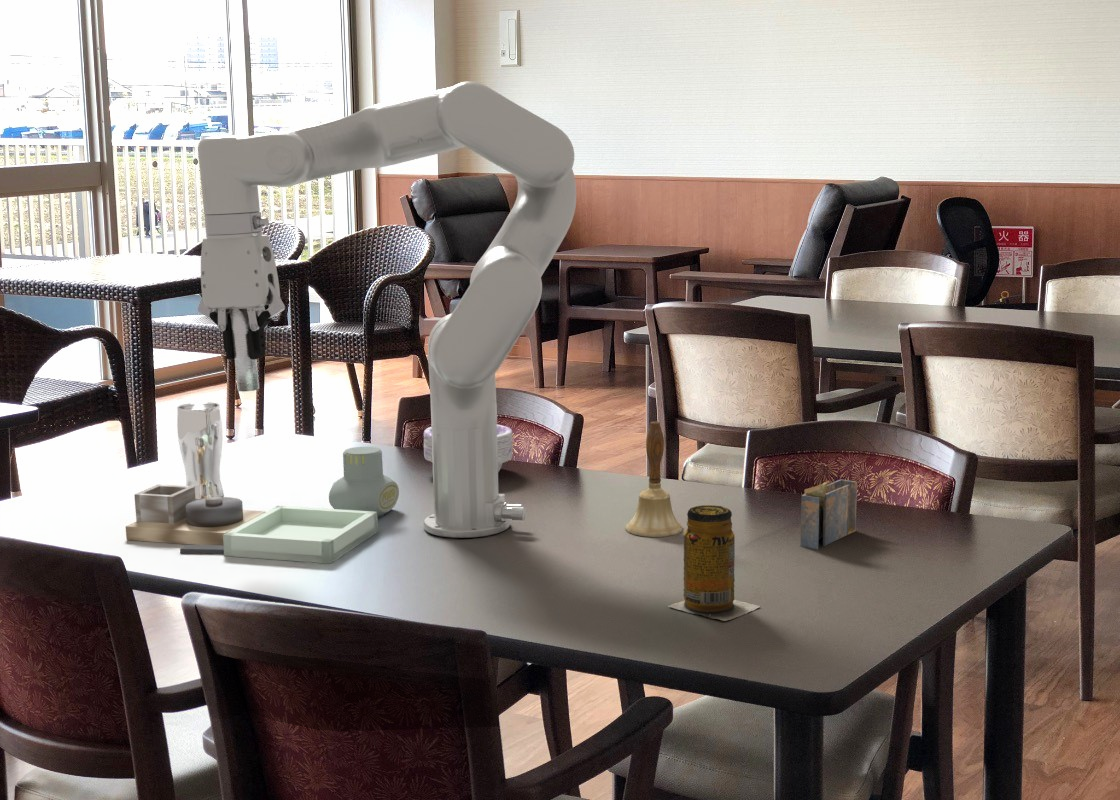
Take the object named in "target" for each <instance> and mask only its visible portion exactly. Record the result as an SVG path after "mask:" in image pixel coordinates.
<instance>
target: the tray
mask: <svg viewBox="0 0 1120 800" xmlns="http://www.w3.org/2000/svg"><path fill="white" fill-rule="evenodd" d="M378 524H379V523H378V517H377V512H374V511H358V510H341V509H334V508H322V507H321V508H320V507H309V506H307V507H306V506H305V507H304V506H289V505H288V506H287V505H276V506H275V507H272V508H271V509H268V510H267V511H266V512H265V513H263V514H261V515H259V516H257V517H255V518H253V519H252V520H250V521H248V522H246V523H244V524H242V525H240V526H239V527H237V528H235V529H233V530H231V531H229V532H227V533H225V534H224V535H223V544H224V554H223V556H224V557H235V558H250V559H263V560H278V561H287V562H288V561H292V562H303V563H304V562H306V563H318V564H319V563H320V564H332V563H333V562H335V561H337V560H338V559H340V558H341V557H342V556H344V555H345V554H347V553H348V552H350V551H351V550H353V549H354V548H356V547H357V546H359V545H360V544H362V543H363V542H365V541H366V540H367V539H369V538H371V537H372V536H374V535H375V534H377V533H378V531H379V528H378V527H379V526H378Z"/></svg>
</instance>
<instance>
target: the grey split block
mask: <svg viewBox="0 0 1120 800" xmlns="http://www.w3.org/2000/svg"><path fill="white" fill-rule="evenodd" d="M857 492H858V481H855V480H854V481H853V480H847V479H843V478H842V479H838V480H836V481H833V482H830V480H827V481H824V482H823V483H820V484H818V485H815V486H812V487H809V488H805V489H804V494H802V495H801V496H800V498H801V501H800V505H801V506H800V547H801V548H802V547H804V548H809V549H813V550H819V540H820V539H821V538H822V546H827V545H828V544H829V545H830V544H831V543H833V542H835V541H838V540H839V539H842V538H844V537H846V536H849V535H851V534H852V533H854V532H855V533H856V532H857V504H858V503H857V495H858V493H857Z"/></svg>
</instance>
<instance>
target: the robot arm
mask: <svg viewBox="0 0 1120 800" xmlns="http://www.w3.org/2000/svg"><path fill="white" fill-rule="evenodd" d="M464 148H467V149H469V150H470V151H471V152H473V153H475V154H476V155H478V156H480V157H481V158H484V159H485V160H487V161H489V162H491V163H492V164H494V165H496V166H497V167H500V168H501V169H503V170H505V171H507V172H508V173H510V174H512V175H514V177H515V179H516V182H517V195H516V199H515V201H514V204H513V207H512V208H511V210H510V212H509V214H508V215H507V217H506V219H505V220H504V222H503V224H502V226H501V227H500V229H499V230H498V232H497V233H496V235H495V237H494V239H493V240H492V241H491V243H490V244H489V246H488V247H487V249H486V251H485V252H484V253H483V255H482V256H480V259H478V261H477V263H476V264H475V266H474V267H473V269H472V271H471V274H470V278H469V285H468V287H467V289H466V290H465V292H464V293H463V295H462V297H461V299H460V300H459V302H458V304H457V305H456V306H455V308H454V310H453V311H452V313H449V314H446V315H445V316H443V317H441V318H440V319H439V320H438V321H437V322H436V323H435V324H434V325H433V327H432V329H431V331H430V334H429V336H428V342H427V359H428V360H427V364H428V372H429V373H428V377H429V378H428V379H429V395H430V397H429V398H430V416H431V417H430V419H431V426H430V427H431V432H432V462H431V463H432V487H433V513H432V514H430V515H428V516H427V517H426V518H425V519H424V520H423V529H424V530H425V531H426V532H427V533H429V534H431V535H435V536H439V537H443V538H454V539H463V538H464V539H465V538H467V539H468V538H479V537H488V536H493V535H496V534H499V533H502V532H504V531H506V530H508V528H509V527H510V525H511V521H510V520H512V521H525V520H526V517H527V510H526V506H524V507H523V504H519V503H516V504H515V503H513V504H512V503H510V504H509V503H508V502H507V501H506V497H505V495H506V494H505V493H499V472H498V455H497V424H498V412H497V411H498V410H497V409H498V407H497V403H498V402H497V384H496V381H497V380H496V373H497V372H498V370H499V369H500V367H501V366H502V364H503V363H504V361H505V360H506V358H507V357H508V355H509V353H510V352H511V350H512V349H513V348H514V345H515V344H516V343H517V341H518V339H519V338H520V336H521V335H522V333H523V332H524V330H525V329H526V327H527V325H528V324H529V322H530V321H531V319H532V318H533V316H534V314H535V312H536V310H537V308H538V306H539V303H540V301H541V297H542V294H543V293H542V292H543V282H542V276H543V274H544V273H545V271H546V269H547V268H548V266H549V265H550V263H551V261H552V260H553V257H554V256H555V254H556V252H557V251H558V249H559V248H560V246H561V244H562V242H563V241H564V238H565V237H566V235H567V233H568V231H569V229H570V228H571V224H572V223H573V219H574V216H575V212H576V207H577V183H576V179H575V173H574V170H573V167H574V164H575V150H574V149H575V148H574V146H573V143H572V141H571V139H570V138H569V136H568V135H567V134H566V133H565V132H564V131H563V130H562V129H561V128H559V127H558V126H556V125H555V124H552V123H551V122H549V121H547V120H545V118H542V117H541V116H539V115H537V114H536V113H533V112H531V111H530V110H528V109H526V108H524V107H522V106H521V105H519V104H517V103H516V102H514V101H512V100H510V99H509V98H507V97H505V96H504V95H502V94H501V93H499V92H497V91H496V90H495V89H492V88H491V87H489V86H487V85H485V84H483V83H481V82H477V81H462V82H460V83H459V82H458V83H457V84H454V85H453V86H449V87H446V88H440V89H436V90H433V91H431V90H430V91H428V92H424V93H419V94H416V95H410V96H406V97H403V98H397V99H394V100H389V101H385V102H381V103H376V104H373V105H370V106H368V107H364V108H363V109H361V110H359V111H356V112H355V113H352V114H350V115H346V116H344V117H341V118H337V119H334V120H330V121H327V122H322V123H319V124H314V125H310V126H305V127H302V128H297V129H293V130H288V131H286V130H284V131H283V130H279V131H278V130H277V131H272V132H268V133H263V134H257V135H250V136H249V135H248V136H246V135H237V134H236V135H235V134H234V135H233V134H232V135H230V134H229V135H218V136H217V135H216V136H215V135H214V136H208V137H204V138H202V139H201V140H200V141H199V142H198V146H197V155H198V164H199V176H200V177H199V178H200V186H201V195H202V206H203V215H204V216H203V218H204V225H205V226H204V228H205V236H206V237H203V238H202V241H201V242H202V244H201V253H200V286H201V288H200V289H201V295H202V296H201V299H200V301H199V305H198V307H197V311H198V313H200V314H202V315H203V316H205V317H207V318H209V319H211V321H212V322H213V323H214V324H215V325H216V326H217V328H218V331H220V332H222V339H223V341H222V342H223V349H224V353H225V357H226V359H227V360H228V361H229V360H235V358H234V348H233V337H232V327H231V317H230V309H247V312H248V318H249V323H250V328H251V331H248V333H247V337H248V347H249V357H250V359H260V358H263V357H265V356H266V349H267V347H266V334H265V329H267V328H268V324H269V323H270V322H271V321H272V319H273V318H274V317H275V316H277V315H278V314H280V313H281V312H283V311H285V309H286V305H285V304H284V302H283V301H282V298H281V292H280V282H279V276H278V270H277V263H276V260H275V256H274V251H273V248H272V245H271V241H270V237H269V235H268V234H263V228H266V227H268V226H269V224H270V220H269V218H268V217H267V216H262V212H261V208H260V207H261V206H260V199H259V198H260V197H259V188H258V186H266V187H274V188H276V187H277V188H287V187H288V188H289V187H292V186H295V185H299V184H303V183H307V182H310V181H315V180H319V179H323V178H327V177H330V176H335V175H339V174H340V175H341V174H344V173H348V172H349V173H350V172H353V171H356V170H357V171H358V170H363V169H380V168H384V167H388V166H394V165H397V164H402V163H405V162H410V161H415V160H417V159H421V158H422V159H423V158H425V157H429V156H430V157H431V156H435V155H438V154H442V153H443V154H444V153H447V152H452V151H456V150H460V149H464ZM232 306H234V307H232ZM265 306H269V307H268V308H267V309H266V308H265Z"/></svg>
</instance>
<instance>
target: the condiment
mask: <svg viewBox="0 0 1120 800" xmlns="http://www.w3.org/2000/svg"><path fill="white" fill-rule="evenodd" d="M686 516H687V522H686V526H687V528H686V530H685V532H684V535H683V599H684V600H682V601H679V602H675V603H671V604H670V605H668V606H667V607H668V608H672V609H675V610H679V611H683V612H685V613H690V614H692V615H693V614H694V615H699V616H700V615H701V616H702V617H708V618H710V619H715V620H720V621H723V622H726V621H731V620H733V619H735V618H739V617H742V616H744V615H747V614H748V613H750V612H753V611H755V610H757V609H758V608H760V607H761V606H760V605H757V604H755V603H753V604H751V603H749V602H747V601H746V602H745V601H741V600H736V599H735V555H736V554H735V550H736V549H735V547H736V545H735V544H736V543H735V533H734V531H733V530H732V529H733V527H732V526H733V523H732V516H733V514H732V511H731V510H730V509H729V508H727V507H725V506H721V505H709V504H706V505H703V504H702V505H697V506H693V507H690V509H688V511H687V513H686Z"/></svg>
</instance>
